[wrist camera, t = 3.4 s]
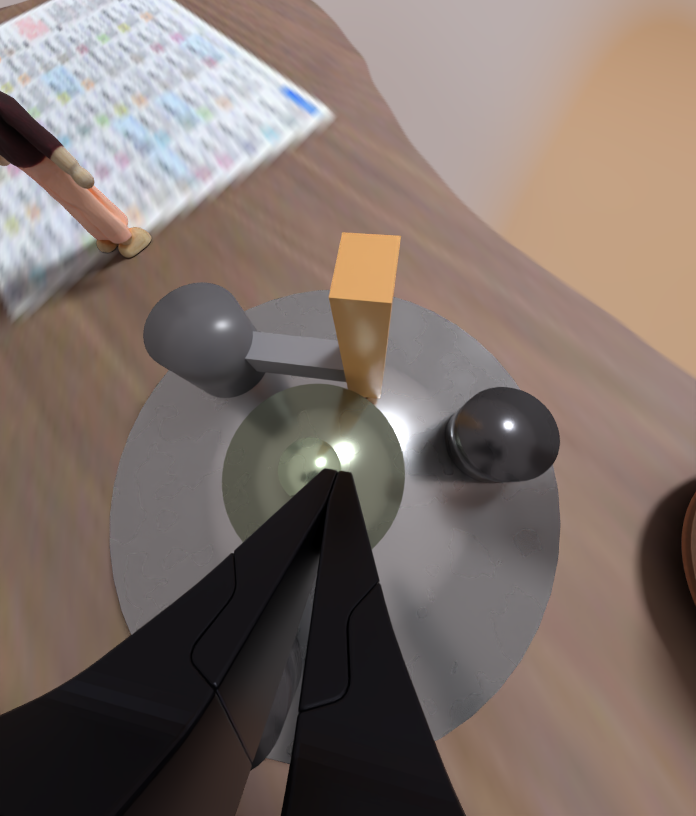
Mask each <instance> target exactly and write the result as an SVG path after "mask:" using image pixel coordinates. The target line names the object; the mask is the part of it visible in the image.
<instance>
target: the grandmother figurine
mask: <svg viewBox="0 0 696 816" xmlns="http://www.w3.org/2000/svg"><path fill="white" fill-rule="evenodd" d="M10 163H11V164H13V165H15V166H17V167H18V168H19V169H21V170H22V171H24V172H25V173H26V174H27V175H29V176H30V177H31V178H32V179H33V180H35V181H36V182H37V183H38V184H39V185H40V186H41V187H43V188H44V189H45V190H46V191H47V192H48V193H49V194H50V196H52V197H53V198H54V199H55V200H57V201H58V202H59V203H60V204H61V205H62V206H63V207H64V208H65V209H66V210H67V211H68V212H69V213H70V214H71V215H72V216H73V217H74V218H75V219H76V220H77V221H78V222H79V223H80V224H81V225H82V226H83V227H84V228H85V229H86V230H87V231H88V232H89V233H90V234H91V235H92V236H93V237H94V238H96V239H97V242H96V244H97V247H98V249H99V250H100V251H101V252H106V253H108V252H111V251H113V250H114V249H115V248H116V247H117V246H118V248H119V251H120V253H121V254H122V255H123V256H125V257H128V258H129V257H133V256H135V255H136V254H138V253H139V252H140V251H141V250H143V249H144V248H145V247H146V246H147V245H148V244H149V243H150V241H151V236H150V234H149V233H148V232H146V231H145V230H143V229H141V228H137V227H133V228H128V226H127V225H128V219H127V217H126V215H125V214H124V213H123V212H122V211H121V210H120V209H119V208H118V207H117V206H115V205H114V204H113V203H112V202H111V201H110V200H109V199H108V198H107V197H106V196H105V195H104V194H103V193H102V192H101V191H99V190H98V189H97V188H96V187H95V186H94V178H93V177H92V175H91V174H90V173H89V172H88V171H87V170H85V169H84V168H82V167H81V166H80V165H79V163H78V162H77V160H76V159H75V158H74V157H73V156H72V155H71V154H70V153H69V152H68V151H67V150H66V149H65V148H64V147H63V145H62V144H61V143H60V142H59V141H58V140H57V139H56V138H55V137H54V136H53V135H52V134H51V133H50V132H48V131H47V130H46V129H45V128H44V127H42V126H41V125H40V124H39V123H38V122H37V121H36V120H35V119H34V118H32V117H31V115H30V114H29V113H28V112H27V111H26V110H25V109H24V108H23V107H22V106H21V105H20V104H19V103H18V102H17V101H16V100H15V99H14V98H12V97H11V96H9V95H7V94H5V93H3V92H1V91H0V165H2V166H7V165H9V164H10Z"/></svg>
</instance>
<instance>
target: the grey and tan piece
mask: <svg viewBox="0 0 696 816" xmlns="http://www.w3.org/2000/svg"><path fill="white" fill-rule="evenodd" d="M400 239H401V236H392V235H375V234H359V233H342V237H341V242H340V247H339V251H338V256H337V261H336V265H335V270H334V275H333V280H332V284H331V289H330V294H329V301H330V306H331V311H332V316H333V321H334V325H335V330H336V335H337V340H330V339H320V338H311V337H302V336H292V335H283V334H273V333H264V332H258V331H257V329H256V328H255V326H254V325H253V324H252V322H251V321H250V319H249V318H248V316H247V315H246V313H245V312H244V311H243V309H242V308H241V306H240V305H239V303H238V302H237V301H236V299H235V298H234V296H233V295H232V294H231V293H230V292H229V291H228V290H226V289H224V288H223V287H221V286H218V285H215V284H211V283H193V284H188V285H185V286H182V287H179V288H177V289H175V290H173V291H171V292H170V293H168V294H167V295H166V296H164V297H163V298H162V299H161V300H160V301H159V302H158V303H157V304H156V305H155V306H154V308H153V309H152V310H151V312H150V314H149V316H148V318H147V320H146V323H145V326H144V334H143V338H144V344H145V347H146V350H147V352H148V353H149V355H150V356H151V357H152V358H153V360H155V361H156V362H157V363H159V364H160V365H162V366H163V367H165V368H167V369H168V370H170V371H172V372H173V373H175V374H177V375H178V376H180V377H182V378H183V379H185V380H186V381H188V382H190V383H191V384H193V385H195V386H196V387H198V388H200V389H201V390H203V391H205V392H206V393H208V394H210V395H212V396H215V397H220V398H231V397H236V396H239V395H242V394H244V393H246V392H248V391H249V390H251V389H252V388H254V387H255V386H256V385H257V384H258V383H259V382H260V380H261V379H262V378H263V376H264V374H265V372H267V373H275V374H283V375H291V376H299V377H307V378H316V379H324V380H332V381H340V382H346V383H347V387H348V390H351V391H353V392H355V393H357V394H359V395H361V396H363V397H369V398H377V399H380V397H381V390H382V383H383V375H384V368H385V360H386V352H387V344H388V336H389V328H390V320H391V312H392V304H393V296H394V288H395V280H396V271H397V263H398V255H399V247H400Z"/></svg>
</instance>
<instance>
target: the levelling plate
mask: <svg viewBox="0 0 696 816" xmlns="http://www.w3.org/2000/svg"><path fill="white" fill-rule="evenodd" d="M329 294H330V290H318V291H311V292H305V293H298V294H293V295H289V296H286V297H282V298H278V299H274V300H271V301H269V302H266V303H263V304H261V305H258V306H256V307H253V308H250V309H248V310H246V311H245V313H246V315H247V316H248V318H249V319H250V321H251V322H252V324H253V325H254V326H255V328H256V329H257V331H258V332H264V333H273V334H283V335H292V336H302V337H311V338H320V339H330V340H337V335H336V330H335V325H334V321H333V316H332V311H331V306H330V301H329ZM559 446H560V436H559V431H558V427H557V424H556V422H555V420H554V418H553V416H552V414H551V413H550V411H549V410H548V409H547V408H546V407H545V405H543V404H542V403H541V402H540V401H539V400H538V399H536V398H535V397H534V396H532V395H530V394H528V393H526V392H524V391H522V390H520V389H519V387H518V386H517V384H516V383H515V381H514V379H513V378H512V377H511V376H510V375H509V373H508V372H507V371H506V370H505V369H504V367H503V366H502V365H501V364H500V363H499V361H498V360H497V359H496V358H495V357H494V356H493V355H492V354H491V353H490V352H489V351H488V350H487V349H486V348H484V347H483V346H482V345H481V344H480V343H479V342H478V341H477V340H476V339H475V338H473V337H472V336H470V335H469V334H468V333H466V332H465V331H464V330H462V329H461V328H460V327H458V326H457V325H456V324H454V323H452V322H450V321H449V320H447V319H445V318H443V317H442V316H440V315H438V314H437V313H435V312H433V311H431V310H428V309H426V308H424V307H421V306H419V305H417V304H414V303H412V302H409V301H406V300H402V299H399V298H396V297H393V304H392V312H391V320H390V328H389V336H388V344H387V352H386V360H385V368H384V375H383V383H382V390H381V397H380V399H377V398H369V397H363V396H361V395H359V394H357V393H355V392H353V391H351V390H348V387H347V383H346V382H340V381H332V380H324V379H316V378H307V377H299V376H291V375H283V374H275V373H267V372H265V374H264V376H263V378H262V379H261V380H260V382H259V383H258V384H257V385H256V386H255V387H254V388H252V389H251V390H249V391H248V392H246V393H244V394H242V395H239V396H236V397H231V398H220V397H215V396H212V395H210V394H208V393H206V392H205V391H203V390H201V389H200V388H198V387H196V386H195V385H193V384H191V383H190V382H188V381H186V380H185V379H183V378H182V377H180V376H178V375H177V374H175V373H173V372H172V371H170V370H169V371H168V372H167V373H166V375H165V376H164V377H163V378H162V380H161V381H160V382H159V383H158V385H157V386H156V387H155V389H154V390H153V392H152V394H151V395H150V397H149V398H148V400H147V401H146V403H145V405H144V406H143V408H142V409H141V411H140V413H139V416H138V418H137V420H136V422H135V424H134V426H133V428H132V430H131V432H130V434H129V437H128V439H127V442H126V445H125V448H124V450H123V453H122V456H121V459H120V463H119V467H118V471H117V475H116V479H115V483H114V487H113V496H112V504H111V512H110V554H111V562H112V570H113V579H114V583H115V587H116V591H117V595H118V599H119V603H120V607H121V610H122V613H123V615H124V618H125V620H126V623H127V625H128V628H129V630H130V633H131V635H132V634H133V633H134V632H136V631H137V630H138V629H139V628H141V627H142V626H143V625H145V624H146V623H147V622H149V621H150V620H151V619H152V618H154V617H155V616H156V615H158V614H159V613H160V612H162V611H163V610H164V609H165V608H167V607H168V606H169V605H171V604H172V603H173V602H174V601H176V600H177V599H178V598H179V597H181V596H182V595H183V594H184V593H186V592H187V591H188V590H189V589H191V588H192V587H193V586H194V585H196V584H197V583H198V582H199V581H200V580H201V579H203V578H204V577H205V576H206V575H207V574H208V573H209V572H211V571H212V570H213V569H214V568H215V567H216V566H217V565H219V564H220V563H221V562H222V561H223V560H224V559H225V558H226V557H227V556H228V555H229V554H231V553H234V550H235V549H236V548H237V547H238V546H239V545H241V544H242V543H243V542H244V541H245V540H246V539H247V538H248V537H249V536H250V535H252V534H253V533H254V532H255V531H256V530H257V529H258V528H259V527H260V526H261V525H262V524H264V523H265V522H266V521H267V520H268V519H269V518H270V517H271V516H272V515H273V514H274V513H276V512H277V511H278V510H279V509H280V508H281V507H282V506H283V505H284V504H285V503H286V502H288V501H289V500H290V499H291V498H292V497H293V496H294V495H295V494H296V493H297V492H298V491H300V490H301V489H302V488H303V487H304V486H305V485H306V484H307V483H308V482H309V481H310V480H312V479H313V478H314V477H315V476H316V475H317V474H318V473H319V472H320V471H321V470H323V469H324V468H328V469H334V470H337V472H338V471H346V472H351V473H352V474H353V478H354V482H355V486H356V490H357V494H358V498H359V502H360V505H361V509H362V513H363V517H364V521H365V525H366V529H367V533H368V537H369V541H370V545H371V548H372V552H373V556H374V560H375V564H376V568H377V572H378V576H379V580H380V582H379V583H380V584H381V587H382V591H383V595H384V599H385V602H386V606H387V609H388V613H389V616H390V620H391V623H392V627H393V630H394V633H395V635H396V638H397V641H398V644H399V647H400V650H401V653H402V656H403V659H404V661H405V664H406V667H407V669H408V672H409V675H410V677H411V680H412V683H413V685H414V688H415V691H416V693H417V696H418V699H419V701H420V704H421V707H422V709H423V712H424V715H425V717H426V720H427V723H428V725H429V728H430V731H431V733H432V736H433V739H434V741H436V740H438V739H440V738H442V737H443V736H445V735H446V734H448V733H449V732H451V731H452V730H453V729H455V728H456V727H458V726H459V725H461V724H462V723H463V722H465V721H466V720H468V719H469V718H471V717H472V716H473V715H474V714H475V713H476V712H477V711H478V710H479V709H480V708H481V707H482V706H483V705H484V704H485V703H486V702H487V701H488V700H489V699H490V698H491V697H492V696H493V695H494V694H495V693H497V692H498V691H499V689H500V688H501V687H502V685H503V684H504V683H505V681H506V680H507V679H508V677H509V676H510V675H511V673H512V672H513V671H514V669H515V668H516V667H517V665H518V664H519V663H520V661H521V660H522V658H523V656H524V654H525V652H526V650H527V649H528V647H529V645H530V643H531V641H532V639H533V637H534V635H535V634H536V632H537V630H538V628H539V625H540V623H541V620H542V617H543V614H544V611H545V609H546V606H547V603H548V600H549V597H550V595H551V591H552V586H553V581H554V576H555V571H556V566H557V561H558V553H559V537H560V511H559V497H558V488H557V483H556V478H555V473H554V468H553V463H554V461H555V460H556V457H557V455H558V451H559ZM316 578H317V574H316V577H315V580H314V583H313V586H312V589H311V592H310V595H309V597H308V600H307V603H306V606H305V609H304V612H303V615H302V618H301V621H300V624H299V627H298V630H297V633H296V636H295V639H294V642H293V645H292V648H291V651H290V654H289V657H288V660H287V663H286V666H285V669H284V672H283V674H282V677H281V680H280V683H279V686H278V689H277V692H276V695H275V698H274V701H273V704H272V707H271V710H270V713H269V716H268V719H267V722H266V725H265V728H264V731H263V734H262V737H261V740H260V743H259V746H258V748H257V751H256V754H255V757H254V760H253V762H252V763H251V764H252V767H251V770H252V769H254V768H255V767H257V766H258V765H259V764H260V763H261V762H262V761H264V759H265V758H269V759H273V760H277V761H280V762H284V763H288V764H290V761H291V755H292V748H293V742H294V735H295V728H296V721H297V716H298V707H299V700H300V693H301V685H302V678H303V671H304V664H305V657H306V650H307V642H308V635H309V628H310V621H311V614H312V606H313V599H314V592H315V585H316ZM251 770H250V771H251Z"/></svg>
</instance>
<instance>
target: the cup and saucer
mask: <svg viewBox="0 0 696 816" xmlns="http://www.w3.org/2000/svg"><path fill="white" fill-rule="evenodd" d="M682 559H683V565H684V571H685V575H686V579H687V583H688V586H689V589H690V592H691V595H692V598H693V600H694V603H695V605H696V492H695V494H694V496H693V497H692V499H691V501H690V503H689V506H688V508H687V511H686V515H685V518H684V523H683V530H682Z"/></svg>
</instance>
